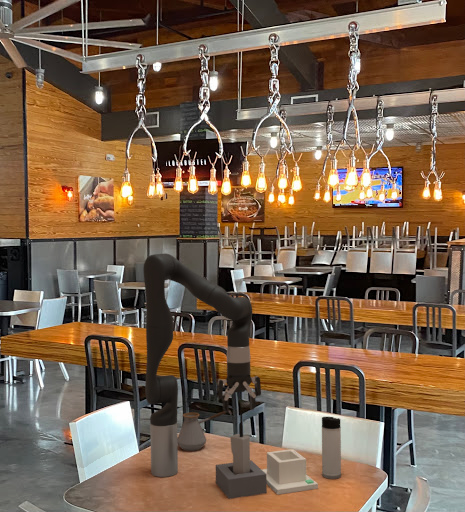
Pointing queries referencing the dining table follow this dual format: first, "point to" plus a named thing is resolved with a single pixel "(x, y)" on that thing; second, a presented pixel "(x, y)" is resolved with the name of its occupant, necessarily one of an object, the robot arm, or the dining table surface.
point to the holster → (240, 481)
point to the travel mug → (331, 448)
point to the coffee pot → (193, 432)
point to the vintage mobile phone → (240, 451)
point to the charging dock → (287, 472)
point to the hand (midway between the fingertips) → (239, 410)
